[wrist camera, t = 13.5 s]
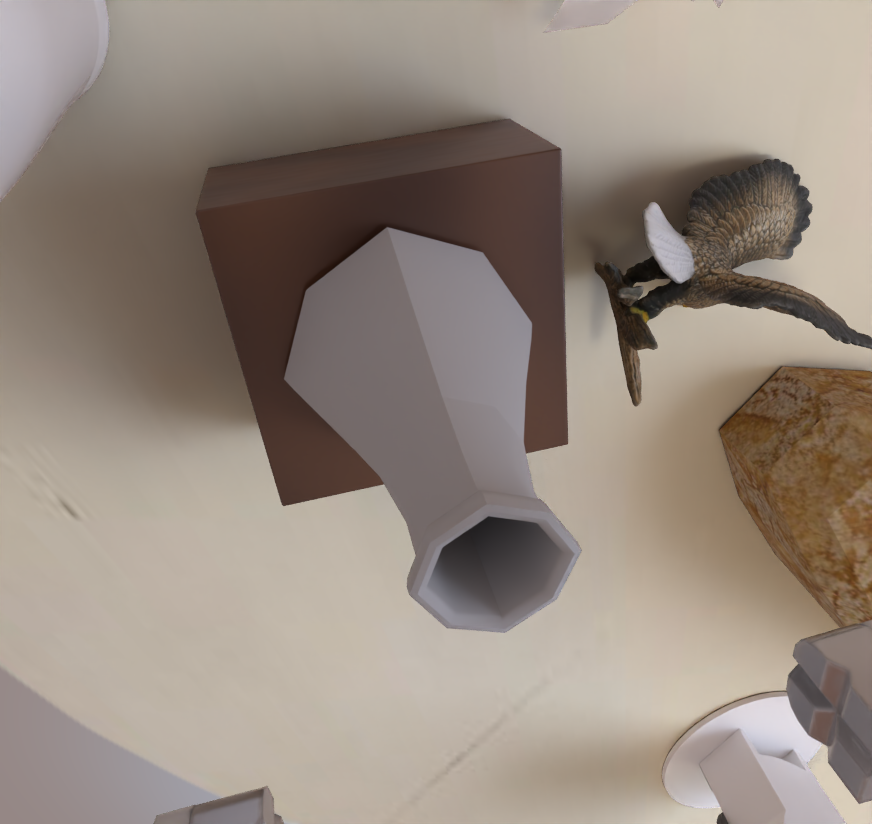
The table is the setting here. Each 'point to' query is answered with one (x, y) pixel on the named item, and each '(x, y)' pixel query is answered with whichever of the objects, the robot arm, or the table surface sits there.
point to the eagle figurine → (719, 259)
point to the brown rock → (811, 480)
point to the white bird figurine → (590, 13)
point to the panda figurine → (750, 766)
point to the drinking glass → (44, 72)
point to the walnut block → (350, 230)
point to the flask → (438, 420)
